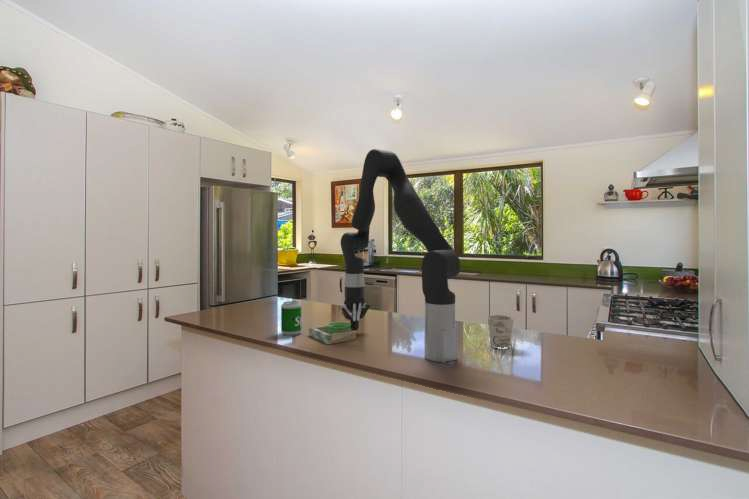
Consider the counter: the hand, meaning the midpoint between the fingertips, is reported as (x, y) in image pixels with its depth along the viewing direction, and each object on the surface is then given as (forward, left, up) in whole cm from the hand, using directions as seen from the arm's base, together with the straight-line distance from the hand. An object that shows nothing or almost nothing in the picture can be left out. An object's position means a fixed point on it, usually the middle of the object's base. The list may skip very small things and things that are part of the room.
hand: (354, 330), depth 154 cm
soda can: (+13, +20, -2) cm, 24 cm away
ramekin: (0, +7, -2) cm, 7 cm away
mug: (-42, -33, -2) cm, 53 cm away
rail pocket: (0, +5, -1) cm, 5 cm away
